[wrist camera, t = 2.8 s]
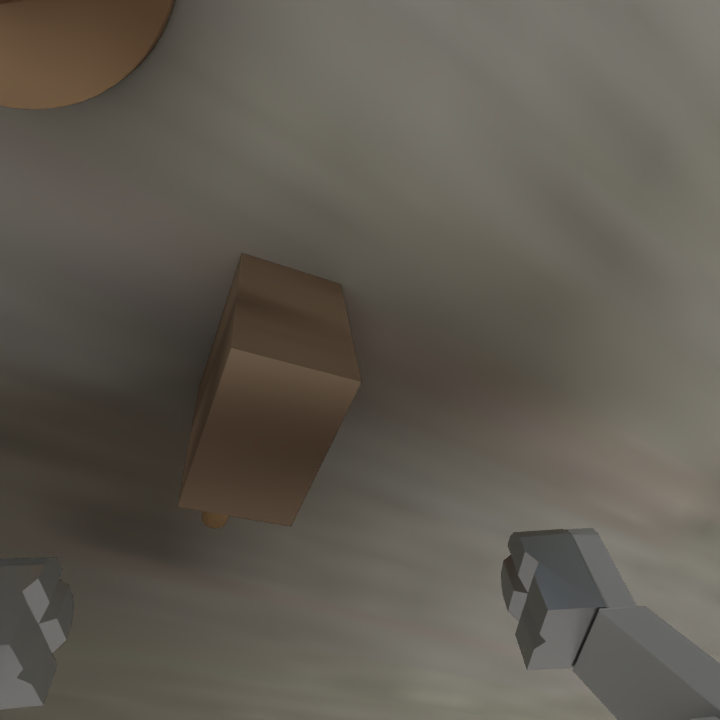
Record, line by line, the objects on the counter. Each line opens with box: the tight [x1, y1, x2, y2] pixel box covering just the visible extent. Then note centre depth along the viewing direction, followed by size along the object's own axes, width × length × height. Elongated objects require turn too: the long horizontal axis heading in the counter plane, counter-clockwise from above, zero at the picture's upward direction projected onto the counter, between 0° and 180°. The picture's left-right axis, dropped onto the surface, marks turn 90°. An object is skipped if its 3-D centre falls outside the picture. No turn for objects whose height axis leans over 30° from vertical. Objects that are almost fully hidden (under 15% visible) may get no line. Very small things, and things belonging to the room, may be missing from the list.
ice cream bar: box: [178, 253, 362, 528], centre depth 17 cm, size 8×3×5 cm, turn 158°
